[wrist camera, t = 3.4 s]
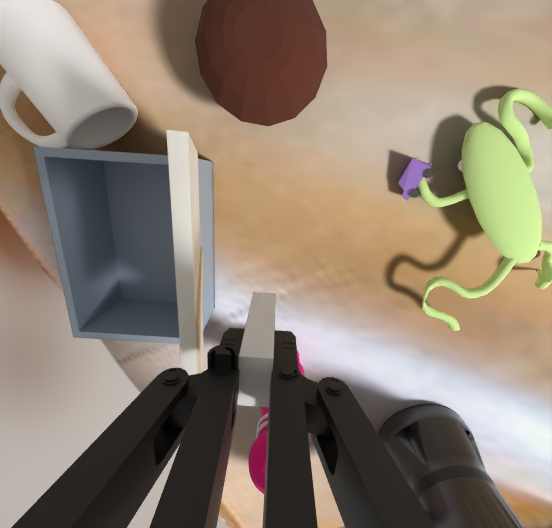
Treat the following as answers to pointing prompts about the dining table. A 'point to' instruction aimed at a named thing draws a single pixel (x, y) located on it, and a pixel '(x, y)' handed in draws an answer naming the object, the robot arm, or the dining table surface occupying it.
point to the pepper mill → (261, 448)
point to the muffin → (262, 56)
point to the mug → (59, 78)
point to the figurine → (494, 195)
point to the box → (121, 241)
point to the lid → (187, 247)
